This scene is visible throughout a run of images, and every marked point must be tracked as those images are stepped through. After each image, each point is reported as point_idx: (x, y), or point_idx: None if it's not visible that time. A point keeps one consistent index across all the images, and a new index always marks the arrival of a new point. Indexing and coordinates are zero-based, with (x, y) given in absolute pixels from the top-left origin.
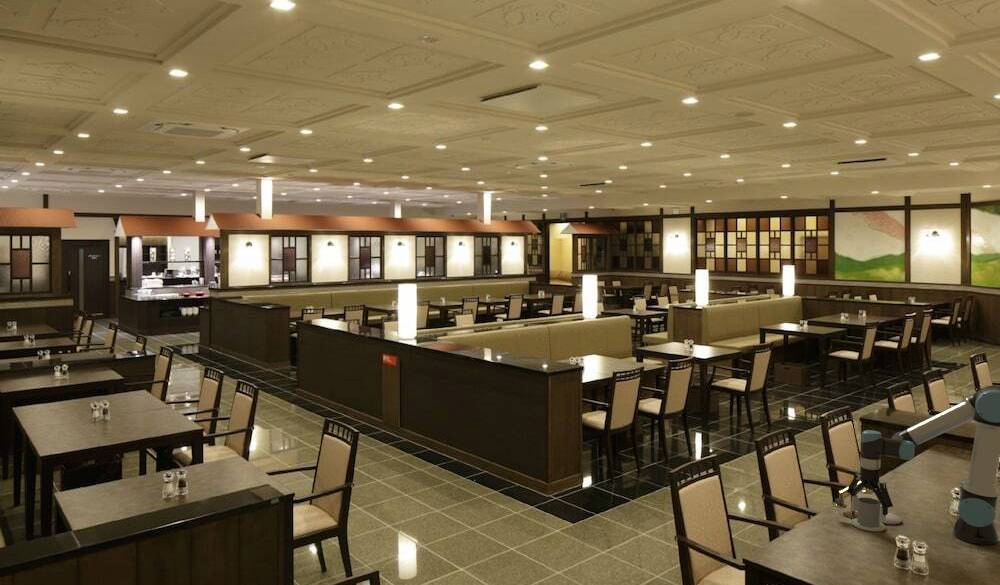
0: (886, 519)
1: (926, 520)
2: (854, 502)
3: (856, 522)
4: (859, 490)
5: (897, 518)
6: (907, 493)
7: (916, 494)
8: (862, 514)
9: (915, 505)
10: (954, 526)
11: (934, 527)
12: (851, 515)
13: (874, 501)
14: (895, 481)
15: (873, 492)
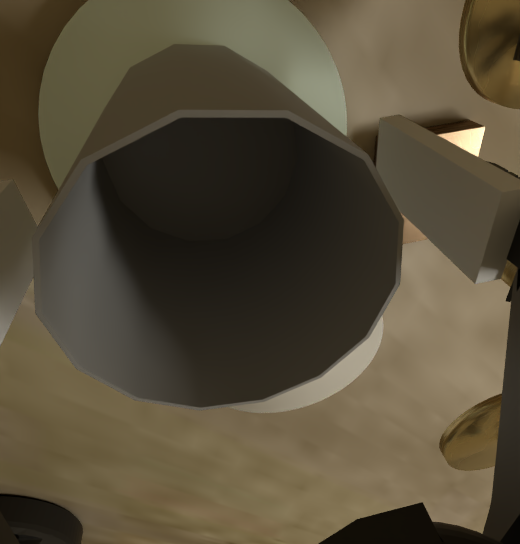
0: None
1: (215, 477)
2: (433, 173)
3: (261, 55)
4: (516, 350)
5: None
6: (440, 516)
7: None
8: (172, 65)
9: (356, 500)
10: (37, 541)
11: (128, 472)
12: None
13: (264, 369)
14: None
15: (447, 462)
